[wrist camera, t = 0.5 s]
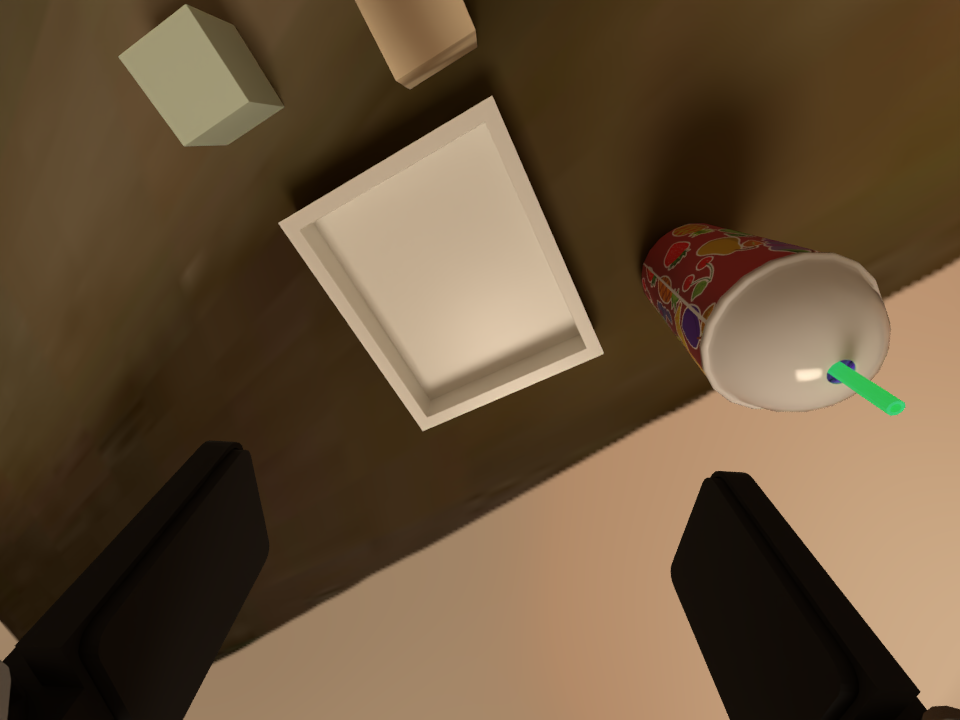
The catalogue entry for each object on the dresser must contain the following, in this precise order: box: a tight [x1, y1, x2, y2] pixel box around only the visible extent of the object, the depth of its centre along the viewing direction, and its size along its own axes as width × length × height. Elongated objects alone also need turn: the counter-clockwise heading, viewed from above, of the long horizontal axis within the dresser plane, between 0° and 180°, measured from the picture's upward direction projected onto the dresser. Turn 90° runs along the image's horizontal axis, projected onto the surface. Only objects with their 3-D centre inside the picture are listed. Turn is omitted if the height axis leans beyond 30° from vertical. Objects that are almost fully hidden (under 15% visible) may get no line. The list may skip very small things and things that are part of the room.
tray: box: [278, 96, 604, 431], centre depth 33 cm, size 16×19×4 cm
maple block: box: [355, 0, 477, 89], centre depth 25 cm, size 5×5×5 cm
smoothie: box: [641, 223, 905, 415], centre depth 25 cm, size 8×8×20 cm
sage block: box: [118, 4, 284, 146], centre depth 27 cm, size 5×5×5 cm
